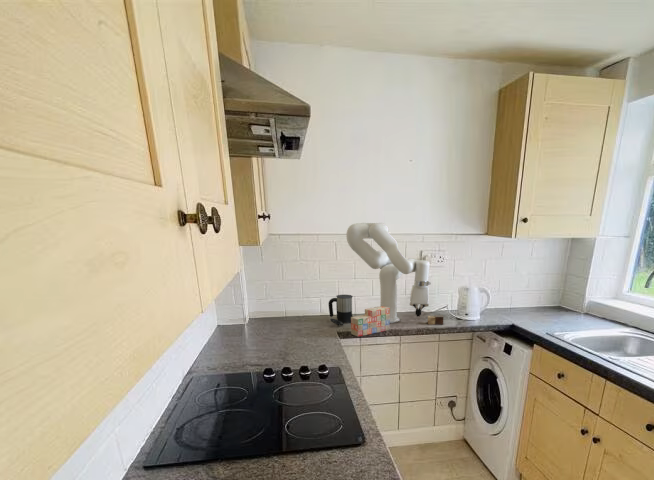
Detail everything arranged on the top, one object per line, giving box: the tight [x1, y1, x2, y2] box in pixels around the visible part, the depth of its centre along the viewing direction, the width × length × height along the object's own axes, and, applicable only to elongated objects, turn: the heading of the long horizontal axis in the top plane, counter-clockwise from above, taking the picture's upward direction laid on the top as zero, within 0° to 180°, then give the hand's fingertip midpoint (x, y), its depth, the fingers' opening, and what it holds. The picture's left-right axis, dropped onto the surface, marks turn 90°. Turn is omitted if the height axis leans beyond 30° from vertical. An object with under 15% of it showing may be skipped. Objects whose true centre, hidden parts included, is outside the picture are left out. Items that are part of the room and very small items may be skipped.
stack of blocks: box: [350, 305, 391, 337], centre depth 215 cm, size 21×6×12 cm, turn 130°
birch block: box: [427, 315, 436, 326], centre depth 234 cm, size 4×4×4 cm
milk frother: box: [328, 294, 353, 326], centre depth 232 cm, size 14×16×15 cm
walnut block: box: [434, 314, 445, 326], centre depth 234 cm, size 4×4×4 cm
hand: (418, 315), depth 233 cm, fingers closed
